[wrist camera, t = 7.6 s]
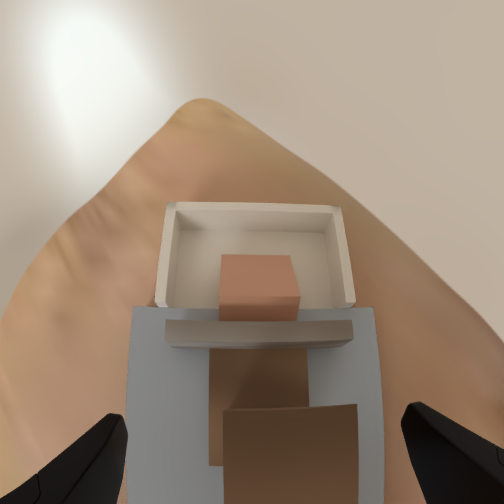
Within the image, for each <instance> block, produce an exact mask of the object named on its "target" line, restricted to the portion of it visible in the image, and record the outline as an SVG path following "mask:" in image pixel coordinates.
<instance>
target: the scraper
mask: <svg viewBox="0 0 504 504" xmlns="http://www.w3.org/2000/svg"><path fill="white" fill-rule="evenodd" d="M353 339H354V335H353V325H352V319H351V320H325V321H271V322H250V321H197V320H171V319H166V322H165V336H164V340H165V341H166V342H167V343H168V344H169V345H170V346H171V347H172V348H188V349H209V466H223V485H224V504H358V494H359V439H358V410H357V404H346V405H332V406H314V407H309V384H308V362H307V349H315V348H334V347H342V346H344V345H345V344H347V343H348V342H350V341H352V340H353Z"/></svg>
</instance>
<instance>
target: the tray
mask: <svg viewBox="0 0 504 504" xmlns="http://www.w3.org/2000/svg"><path fill="white" fill-rule="evenodd" d="M222 254H230V255H290V259H291V262H292V266H293V270H294V273H295V277H296V281H297V284H298V288H299V292H300V295H301V298H300V304H299V309H329V308H351V307H352V306H353V305H354V304H355V303H356V298H355V291H354V284H353V277H352V270H351V264H350V258H349V251H348V245H347V240H346V234H345V228H344V223H343V217H342V212H341V207H340V206H330V205H308V204H281V203H243V202H167V208H166V215H165V221H164V228H163V235H162V242H161V249H160V257H159V265H158V273H157V282H156V291H155V303H156V304H157V306H158V307H167V308H196V309H219V297H218V295H219V282H220V269H221V257H222Z"/></svg>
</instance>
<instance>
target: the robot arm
mask: <svg viewBox="0 0 504 504" xmlns="http://www.w3.org/2000/svg"><path fill="white" fill-rule="evenodd" d="M401 428H402V431H403V435H404V439H405V442H406V446H407V450H408V453H409V457H410V460H411V463H412V466H413V469H414V471H415V474H416V477H417V479H418V482H419V484H420V487H421V490H422V492H423V495H424V498H425V500H426V503H427V504H504V449H502V448H500V447H499V446H495V444H493V443H491V442H489V441H488V440H486V439H484V438H482V437H481V436H479V435H477V434H475V433H473V432H472V431H470V430H468V429H466V428H465V427H463V426H461V425H459V424H458V423H456V422H454V421H453V420H451V419H449V418H447V417H446V416H444V415H442V414H441V413H439V412H437V411H435V410H434V409H432V408H430V407H429V406H427V405H425V404H424V403H422V402H414V403H410V404H409V405H408V406H407V408H406V410H405V413H404V415H403V417H402V420H401ZM127 442H128V431H127V428H126V425H125V422H124V419H123V417H122V415H120V414H114V413H109V414H107V415H106V416H105V417H103V418H102V419H101V420H100V421H99V422H98V423H96V424H95V425H94V426H93V427H92V428H91V429H89V430H88V431H87V432H86V433H85V434H83V435H82V436H81V437H80V438H79V439H77V440H76V441H75V442H74V443H73V444H71V445H70V446H69V447H68V448H67V449H65V450H64V451H63V452H62V453H61V454H59V455H58V456H57V457H56V458H54V459H53V460H52V461H51V462H50V463H48V464H47V465H46V466H45V467H43V468H42V469H41V470H40V471H38V474H35V475H33V476H32V477H31V478H30V479H28V480H27V481H26V482H24V483H23V484H22V485H20V486H19V487H18V488H16V489H15V490H13V491H11V492H10V493H8V494H7V495H5V496H3V497H2V498H0V504H117V500H118V495H119V491H120V487H121V483H122V479H123V473H124V465H125V457H126V449H127Z"/></svg>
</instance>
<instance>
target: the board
mask: <svg viewBox="0 0 504 504" xmlns="http://www.w3.org/2000/svg"><path fill="white" fill-rule="evenodd" d="M166 319H171V320H197V321H219V309H196V308H167V307H144V306H133V315H132V325H131V335H130V347H129V360H128V375H127V396H126V428H127V431H128V442H127V449H126V481H127V500H128V504H224V485H223V466H209V349H188V348H172V347H171V346H170V345H169V344H168V343H167V342H166V341H165V340H164V336H165V322H166ZM351 319H352V325H353V335H354V339H353V340H352V341H350V342H348V343H347V344H345V345H344V346H342V347H334V348H315V349H307V362H308V384H309V407H314V406H332V405H346V404H357V410H358V439H359V494H358V504H384V420H383V401H382V386H381V373H380V362H379V352H378V343H377V334H376V326H375V318H374V311H373V307H359V308H329V309H299V310H298V316H297V321H325V320H351Z"/></svg>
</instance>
